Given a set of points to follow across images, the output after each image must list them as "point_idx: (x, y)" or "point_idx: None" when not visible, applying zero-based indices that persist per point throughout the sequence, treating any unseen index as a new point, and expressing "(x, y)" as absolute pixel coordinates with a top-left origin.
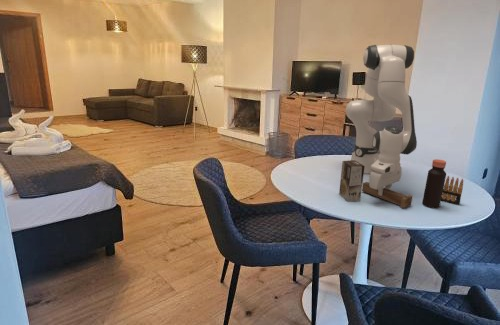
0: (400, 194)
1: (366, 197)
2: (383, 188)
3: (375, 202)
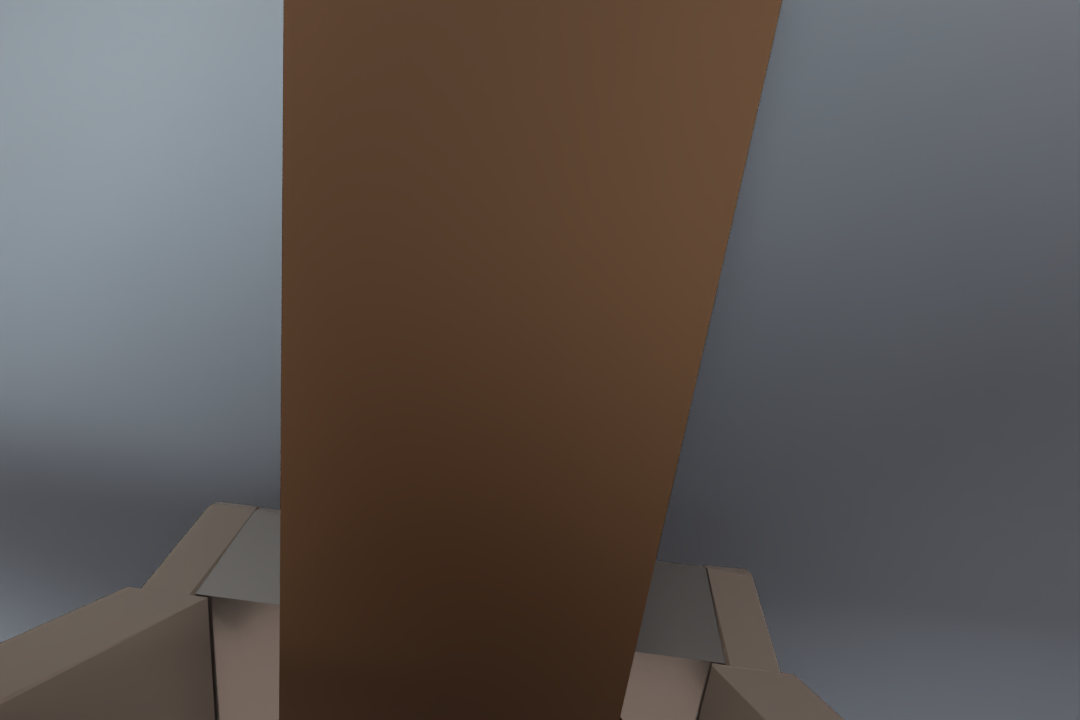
0: None
1: (132, 61)
2: (503, 696)
3: (51, 452)
